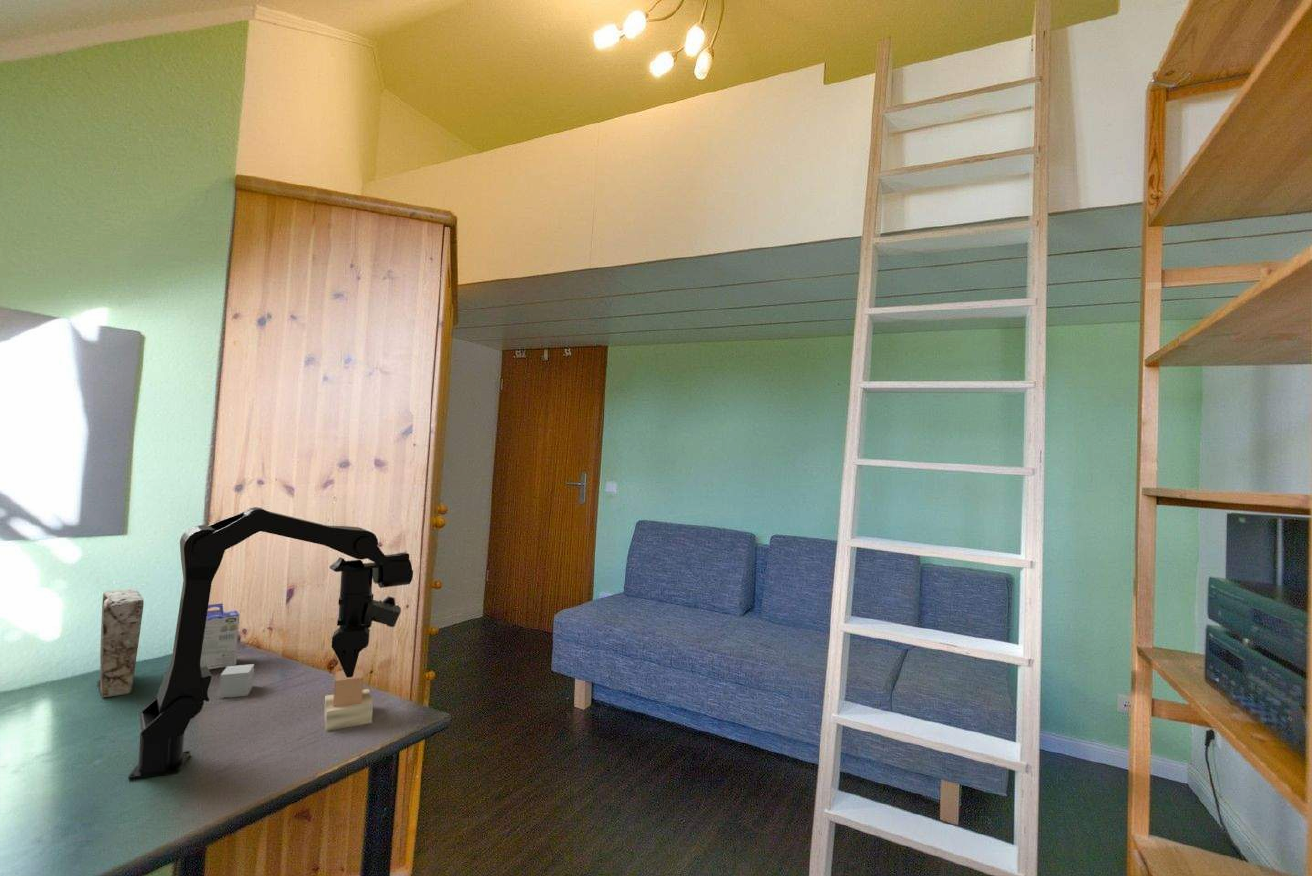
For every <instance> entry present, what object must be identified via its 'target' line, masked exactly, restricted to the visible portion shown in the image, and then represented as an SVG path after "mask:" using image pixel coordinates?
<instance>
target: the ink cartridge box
mask: <svg viewBox="0 0 1312 876" xmlns="http://www.w3.org/2000/svg"><path fill="white" fill-rule="evenodd" d="M223 605H224V604H223V603H213V604H208V611H207V618H206V625H205V632H204V639H203V646H202V653H201V660H200V667H205V666H207V667H208V670H209V671H210V670H214V669H220V668H221V669H222V668H226V667H227V666H237V660H238V659H237V658H238V643H239V624H240V614H239V613H238V610H231V611H230V610H229V611H224V606H223ZM212 608H219V609H214V610H209V609H212Z"/></svg>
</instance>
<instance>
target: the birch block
mask: <svg viewBox="0 0 1312 876" xmlns="http://www.w3.org/2000/svg"><path fill="white" fill-rule="evenodd" d="M333 700H334V693H333V694H328V695H325V697H324V713H323V714H324V727H325V731H326V732H327V731H333V730H338V729H345V728H348V727H349V728H350V727H353V726H354V727H355V726H361V725H366V724H372V723H373V709H374V708H373V707H374V706H373V705H374V703H373V702H374V701H373V699H372V695H371V692H370V689H369V688H364V689H363V693H362V703H357V704H350V705H342V706H335V707H333Z"/></svg>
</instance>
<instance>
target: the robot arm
mask: <svg viewBox="0 0 1312 876" xmlns="http://www.w3.org/2000/svg"><path fill="white" fill-rule="evenodd" d="M259 532H262V533H267V534H272V535H276V536H281V537H286V538H290V539H295V540H298V541H303V542H308V543H312V544H317V545H322V546H325V547H328V548H329V549H332V550H334V551H337V552H339V553H342V554H344V555H346V556H348V557H352V558H353V559H352V560H346V559H345V558H343V557H338V559H336V561H334V562H333V563H332V564H330V566H329V569H330V570H332V571H334V572H335V573H337V572H338V573H340V572H341V573H340V585H339V586H340V587H339V588H340V589H339V598H338V606H339V607H338V618H337V621H336V623H337V624H336V625H337V627H338V628H337V629H336V630H335V631H334V632H333V633H332V637H331V649H332V650H333V651H334V654H335V655H336V656H337V657H336V658H337V659H338V661H339V664H340V665H341V668H342V671H344V673H345V675H346V677H347V678H348V677H353V674H354V670H356V666H357V662H358V659H359V655H360V652H361V651H363V650H364V649H367V647H368V646H369V645H370V644H369V643H370V642H369V641H370V635H371V634H370V633H371V629H370V628H371V627H372V624H373V622H376V623H379V624H383V625H386V626H387V627H389V628H394V627H395V626H396V624H397V622H398V620H399V617H400V614H401V613H402V608H401V606H400V605H399V604H398V605H396V598H395V597H392V596H389V595H388V596H386V597H385V599H383V600H380V599H379V600H376V599H374V593H373V592H372V591H373V590H372V589H373V583H374V584H376V585H378V588H381V589H382V588H383V589H384V588H391V587H392V588H393V587H399V586H406V585H410V584H411V583H412V580H413V576H414V570H413V567H412V563H411V562H412V561H411V559H410V553H408V552H406V551H404V552H399V553H393V554H385V553H384V552H383V551H382V550H381V549H380V547H379V546H378V545H379V541H378V537H377V536H376V534H375V533H373V532H371V531H369V530H367V529H364V528H362V527H359V526H348V525H347V526H346V525H328V524H327V525H326V524H324V523H323V524H322V523H317V522H314V521H311V520H307V519H302V518H298V517H294V516H290V515H285V514H281V513H277V512H274V511H269V510H267V509H264V508H262V507H257V506H256V507H250V508H248V509H246V510H245V511H242V512H240V513H238V514H235V515H232V516H230V517H227V518H224V519H220V520H218V521H216V522H214V523H212V524H209V525H205V524H202V525H196V526H193V527H190V528H189V529H187V530H186V531H184V532H183V534H182V535H181V537H180V539H179V540H180V541H179V551H180V561H181V570H182V580H183V581H182V587H181V594H180V601H179V607H178V615H177V622H176V629H175V636H174V640H173V641H174V643H173V647H172V648H173V649H172V655H171V661H170V664H169V665H168V667H167V670H166V671H165V673H164V675H163V677H162V681H161V683H160V686H159V689H158V692H157V695H156V698H155V699H153V700H152V701H151V702H150V703H149V704H148V705H147V706H146V707H144V708H143V709H142V710H141V711H140V712H139V722H140V728H141V732H140V734H139V747H138V751H139V752H138V761H137V765H136V766H135V767H134V768H133V769H132V771H131V773H129V774H128V777H127V779H128V780H136V779H142V778H150V777H157V776H163V775H171V774H176V773H179V771H180V770H181V769H182V767H183V766H184V764H185V763H186V762H187V760H188V758H189V757H190V755H191V751H190V750H185V751H184V743H185V731H186V729H187V727H188V726H189V723H190V722H191V720H193V719H194V718H195V717H196V716H197V715H198V714H200V712H201V711H202V710H203V707H204V704H205V703H204V702H209V701H210V698H209V696H208V695H209V692H208V690H209V687H210V685H211V682H212V678H213V677H212V674H211V672H210V670H208V667H207V666H205V667H200V660H201V653H202V646H203V639H204V632H205V625H206V618H207V611H209V609H208V605H210V604H209V603H210V597H211V591H212V590H211V589H212V583H213V580H214V579H215V576H216V574H217V572H218V570H219V567H220V565H221V562H222V560H223V557H224V554H225V553H226V550H228V549H230V548H233V547H234V546H237V545H239V544H240V543H241V542H243V541H245V540H247V539H248V538H250V537H251V536H253V535H255V534H258V533H259ZM366 559H367V560H369V561H371V562H365V563H364V562H363V560H366Z"/></svg>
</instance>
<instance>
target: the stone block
mask: <svg viewBox="0 0 1312 876" xmlns="http://www.w3.org/2000/svg"><path fill="white" fill-rule="evenodd" d="M101 603H102V604H101V605H102V607H101V621H100V622H101V625H100V626H101V627H100V630H101V631H100V653H99V657H100V660H99V662H100V663H99V667H100V669H99V671H100V672H99V673H100V675H99V676H100V677H99V680H98V681H97V683H96V684H97V686H98V689H99V693H100V694H101V698H108V697H114V696H115V697H116V696H121V695H123V696H124V695H129V694H131V693H133V689H132V688H133V683H134V677H135V676H134V675H135V671H136V669H135V668H136V664H137V657H138V651H139V649H138V648H139V641H140V634H141V629H142V628H141V627H142V620H143V619H142V618H143V611H144V605H145V604H144V598H143V596H142V594H140V591H139V590H138V589H120V590H117V589H116V590H106V591H104V592H103V594H102V602H101Z"/></svg>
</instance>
